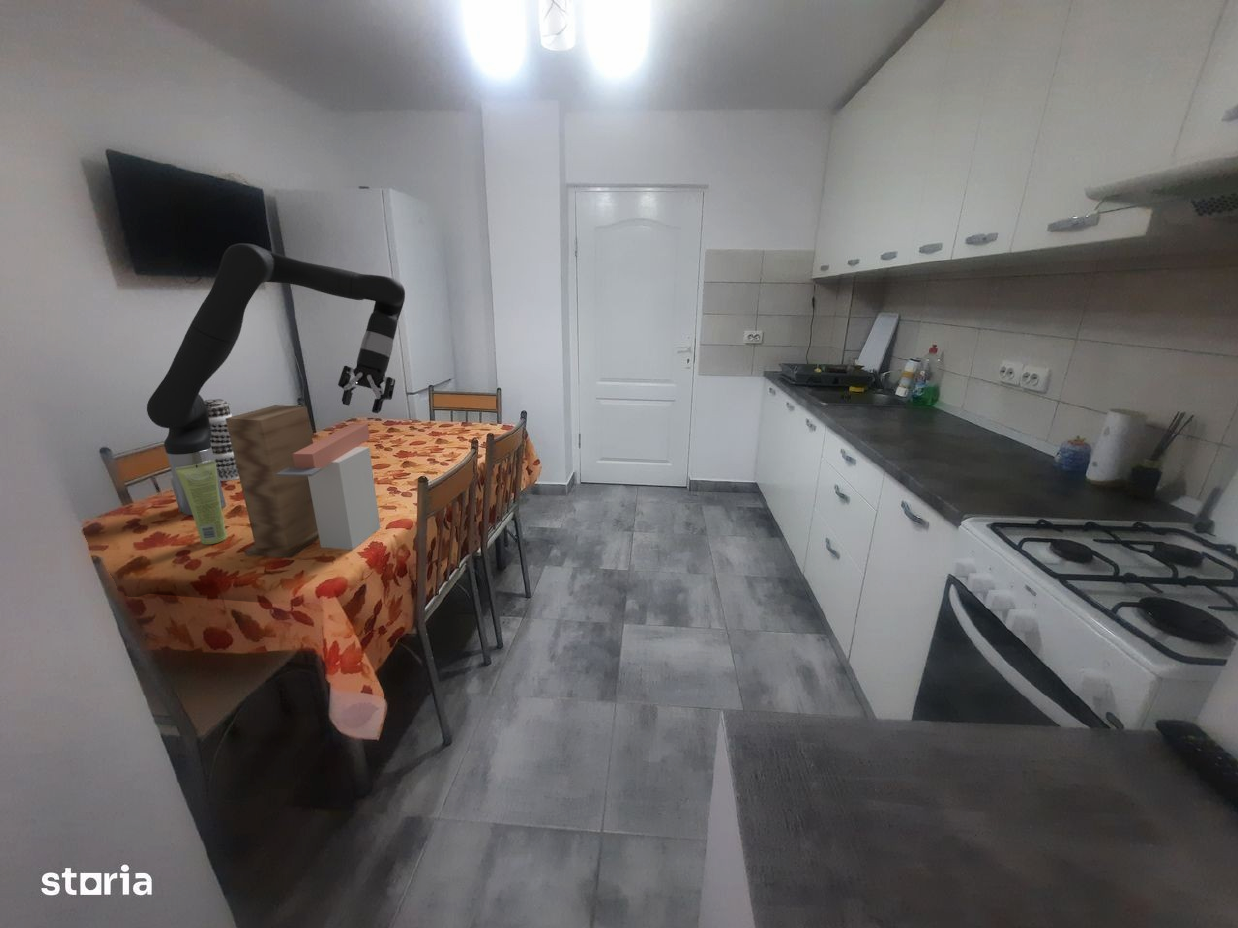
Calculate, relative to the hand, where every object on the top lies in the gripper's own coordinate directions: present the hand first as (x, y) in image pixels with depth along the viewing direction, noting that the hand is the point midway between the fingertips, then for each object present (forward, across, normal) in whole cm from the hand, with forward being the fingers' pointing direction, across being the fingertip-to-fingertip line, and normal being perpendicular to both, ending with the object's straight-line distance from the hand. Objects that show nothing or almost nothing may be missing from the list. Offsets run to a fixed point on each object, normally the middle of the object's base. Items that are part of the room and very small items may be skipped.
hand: (360, 408), depth 133 cm
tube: (+40, -17, -16) cm, 46 cm away
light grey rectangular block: (+31, +13, -10) cm, 36 cm away
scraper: (+12, +9, -20) cm, 24 cm away
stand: (+35, 0, -13) cm, 37 cm away
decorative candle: (+33, -50, +23) cm, 64 cm away
